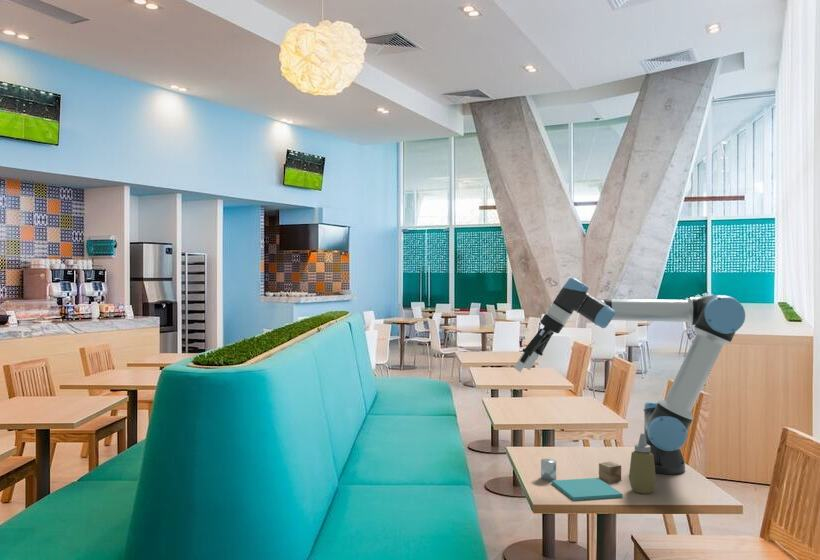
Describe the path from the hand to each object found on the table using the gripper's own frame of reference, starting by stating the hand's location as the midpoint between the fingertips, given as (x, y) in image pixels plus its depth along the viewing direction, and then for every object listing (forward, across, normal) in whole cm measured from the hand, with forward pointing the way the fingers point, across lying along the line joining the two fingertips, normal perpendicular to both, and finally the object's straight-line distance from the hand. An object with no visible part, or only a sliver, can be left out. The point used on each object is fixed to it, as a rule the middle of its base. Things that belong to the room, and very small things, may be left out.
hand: (521, 368), depth 225 cm
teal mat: (+17, +13, +40) cm, 45 cm away
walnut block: (+13, -2, +44) cm, 46 cm away
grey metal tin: (+24, +6, +28) cm, 38 cm away
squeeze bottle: (+8, +7, +53) cm, 54 cm away
